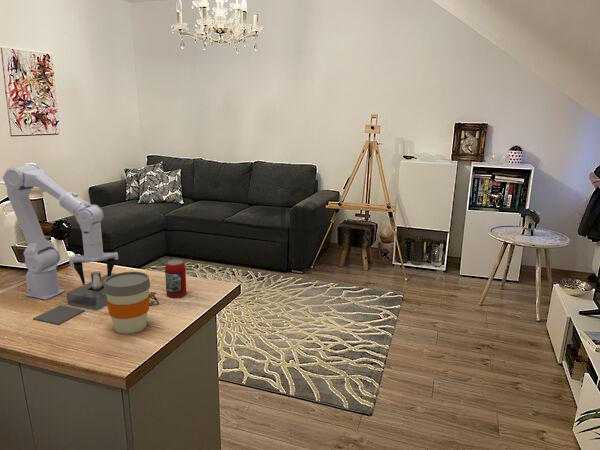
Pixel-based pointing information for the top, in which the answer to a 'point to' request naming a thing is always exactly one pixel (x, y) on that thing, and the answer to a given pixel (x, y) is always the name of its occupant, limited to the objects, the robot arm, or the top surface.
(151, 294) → the wooden post with brackets
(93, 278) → the steel pin
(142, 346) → the top surface
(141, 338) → the top surface
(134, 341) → the top surface
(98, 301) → the block
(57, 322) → the rubber mat
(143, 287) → the reusable coffee cup
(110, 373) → the top surface
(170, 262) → the beverage can
